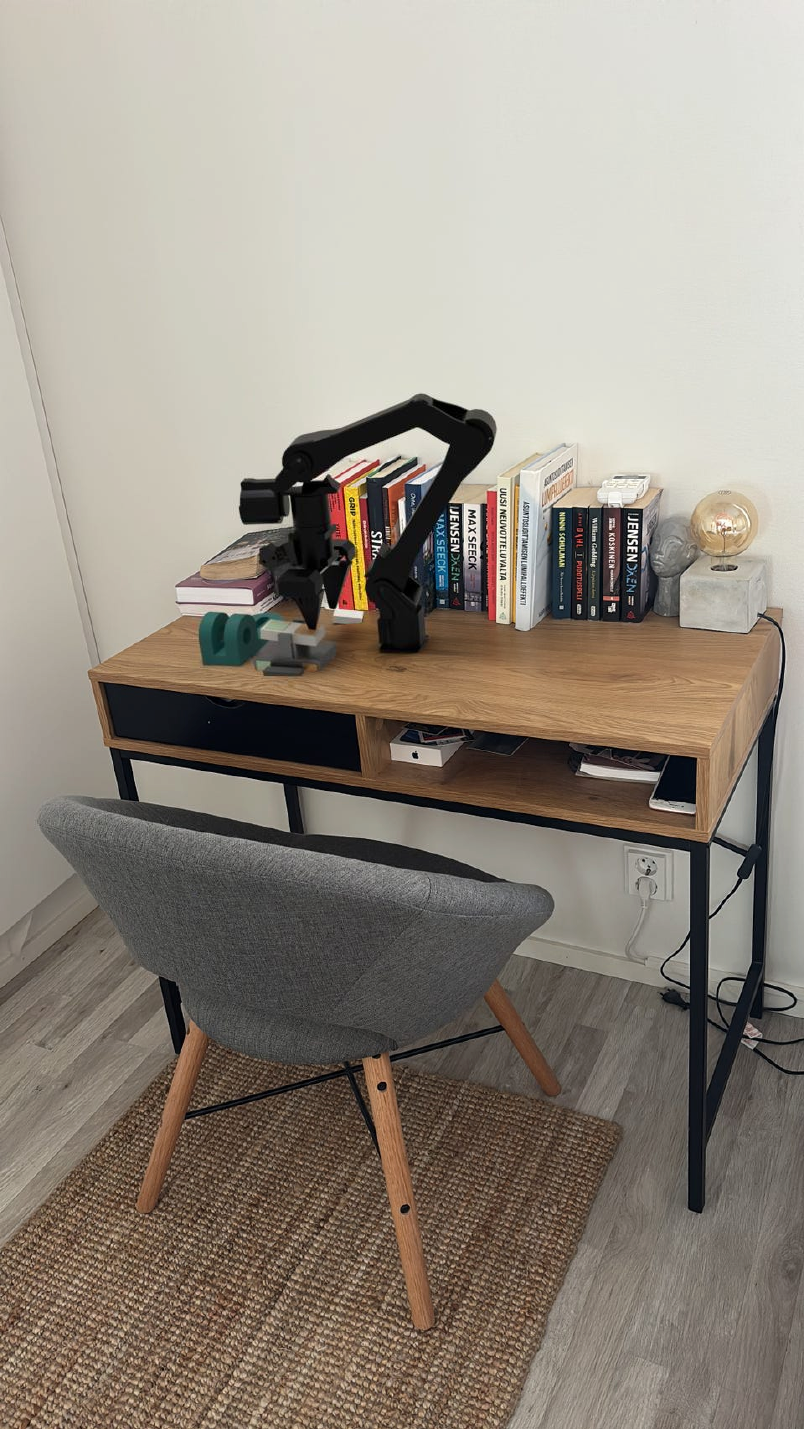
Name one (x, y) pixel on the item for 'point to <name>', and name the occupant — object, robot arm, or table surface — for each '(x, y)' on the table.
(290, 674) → the dark grey rectangular bar
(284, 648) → the grey stand
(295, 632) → the rocker switch
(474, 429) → the robot arm
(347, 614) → the eraser
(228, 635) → the bracket
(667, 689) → the table surface
